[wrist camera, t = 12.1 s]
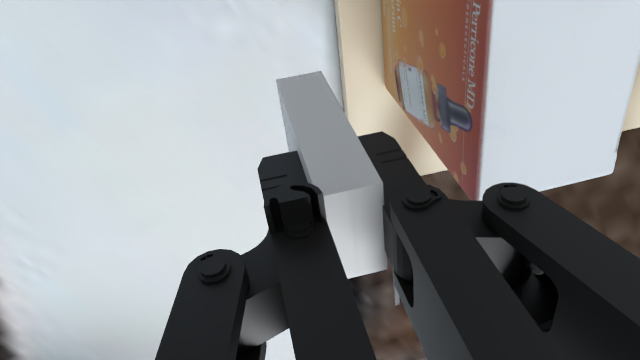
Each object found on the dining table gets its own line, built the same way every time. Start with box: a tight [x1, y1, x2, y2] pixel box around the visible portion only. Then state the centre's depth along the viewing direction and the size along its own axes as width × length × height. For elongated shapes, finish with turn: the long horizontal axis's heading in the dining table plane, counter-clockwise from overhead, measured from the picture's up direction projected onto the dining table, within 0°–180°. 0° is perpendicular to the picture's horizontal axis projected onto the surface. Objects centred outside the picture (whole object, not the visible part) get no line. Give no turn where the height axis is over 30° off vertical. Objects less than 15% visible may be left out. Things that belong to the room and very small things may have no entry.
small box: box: [381, 0, 640, 201], centre depth 20 cm, size 8×6×10 cm
